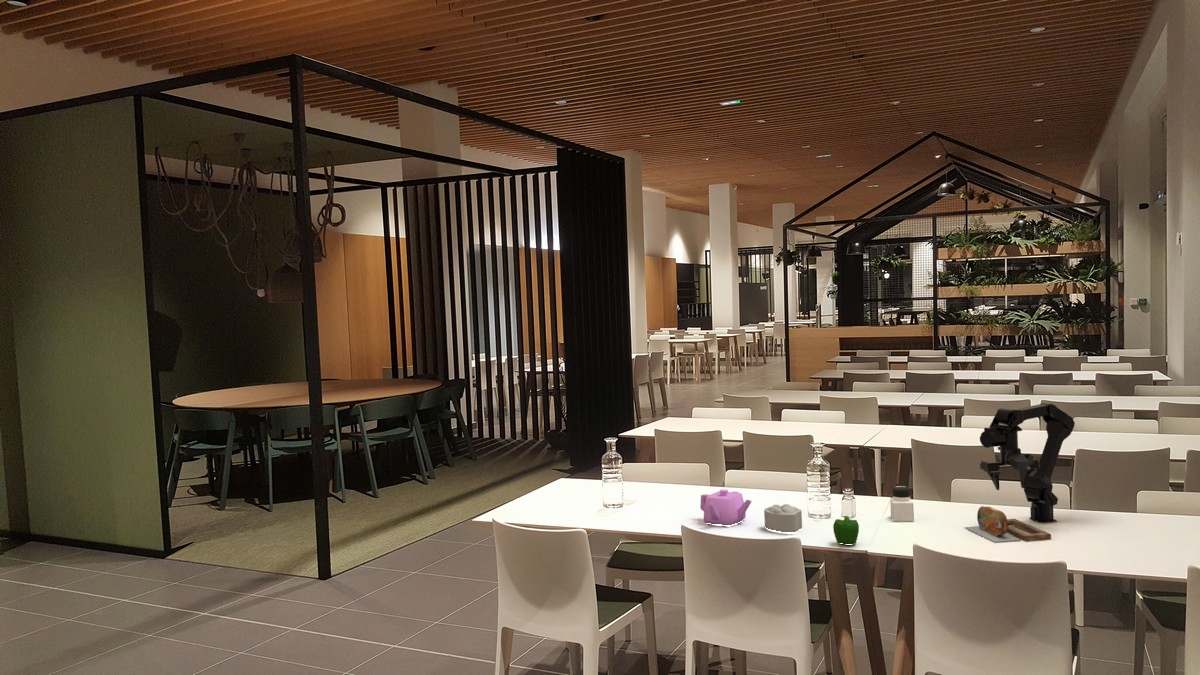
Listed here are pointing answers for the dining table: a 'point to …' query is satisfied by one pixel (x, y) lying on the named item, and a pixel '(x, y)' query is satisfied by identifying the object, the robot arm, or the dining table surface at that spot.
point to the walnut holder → (1035, 532)
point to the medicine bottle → (901, 504)
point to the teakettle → (724, 507)
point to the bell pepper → (846, 530)
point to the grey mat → (991, 537)
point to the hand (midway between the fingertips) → (1010, 489)
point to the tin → (992, 521)
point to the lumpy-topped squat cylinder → (783, 518)
